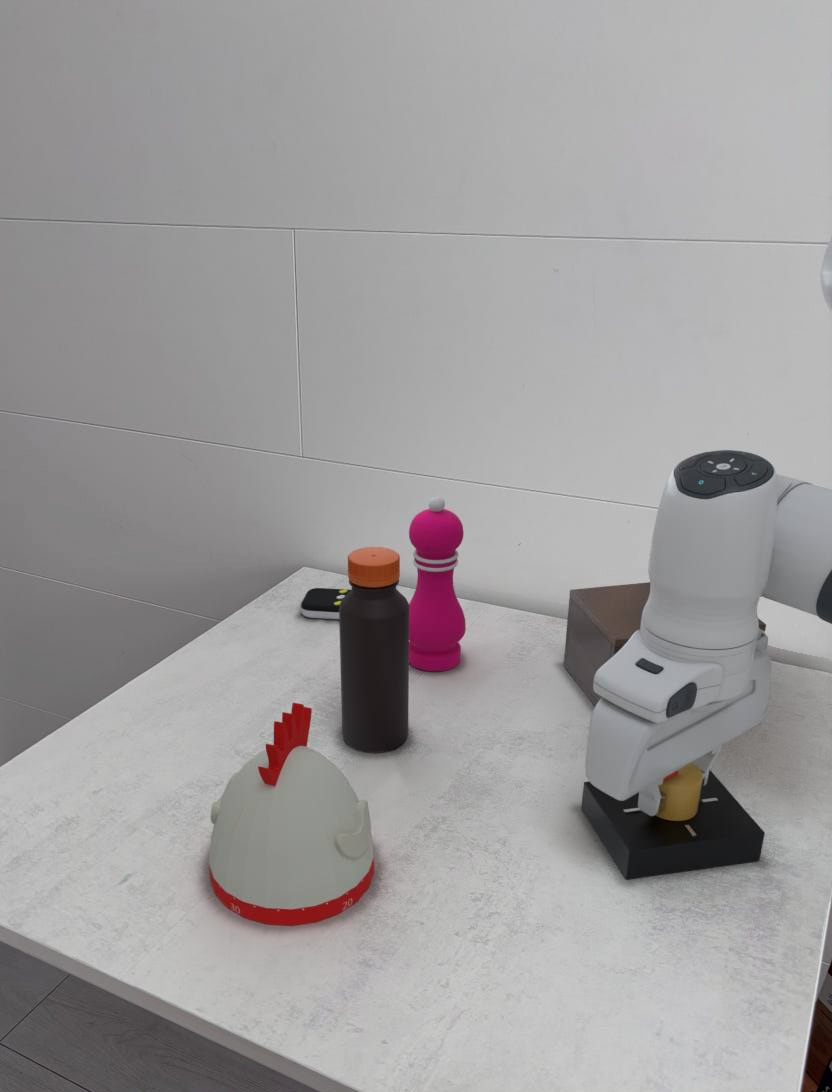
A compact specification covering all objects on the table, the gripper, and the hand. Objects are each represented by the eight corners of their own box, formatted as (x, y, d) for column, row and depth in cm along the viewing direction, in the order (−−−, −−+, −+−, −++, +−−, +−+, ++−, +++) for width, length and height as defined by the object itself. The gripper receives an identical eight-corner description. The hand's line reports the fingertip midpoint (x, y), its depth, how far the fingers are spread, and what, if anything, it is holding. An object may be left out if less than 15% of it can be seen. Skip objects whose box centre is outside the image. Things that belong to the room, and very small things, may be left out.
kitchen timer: (396, 838, 90) (397, 691, 84) (336, 943, 79) (331, 783, 72) (256, 805, 95) (245, 663, 88) (179, 899, 84) (160, 745, 77)
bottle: (406, 718, 108) (408, 542, 99) (409, 753, 102) (411, 569, 93) (342, 719, 108) (338, 543, 99) (342, 754, 102) (337, 570, 93)
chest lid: (706, 583, 117) (712, 545, 114) (765, 631, 105) (772, 590, 103) (569, 596, 114) (572, 557, 112) (614, 647, 103) (619, 605, 101)
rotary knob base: (702, 793, 96) (707, 765, 94) (759, 861, 87) (765, 831, 85) (580, 808, 94) (583, 780, 92) (625, 879, 85) (629, 849, 84)
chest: (689, 652, 120) (699, 584, 116) (744, 706, 109) (757, 632, 105) (563, 665, 118) (569, 596, 114) (606, 722, 107) (614, 647, 103)
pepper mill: (396, 648, 123) (397, 488, 114) (455, 642, 124) (459, 483, 115) (410, 677, 116) (412, 510, 107) (472, 670, 117) (478, 505, 108)
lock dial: (666, 785, 92) (671, 749, 90) (708, 808, 88) (714, 771, 87) (634, 803, 89) (638, 766, 88) (675, 827, 86) (681, 790, 84)
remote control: (308, 598, 136) (308, 584, 135) (404, 603, 134) (404, 589, 133) (298, 618, 130) (298, 604, 130) (398, 624, 128) (398, 610, 128)
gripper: (736, 608, 90) (713, 740, 96) (579, 680, 79) (564, 824, 85) (802, 633, 85) (773, 770, 92) (645, 713, 75) (625, 863, 81)
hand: (671, 797), depth 88 cm, fingers closed on lock dial, 4 cm apart
